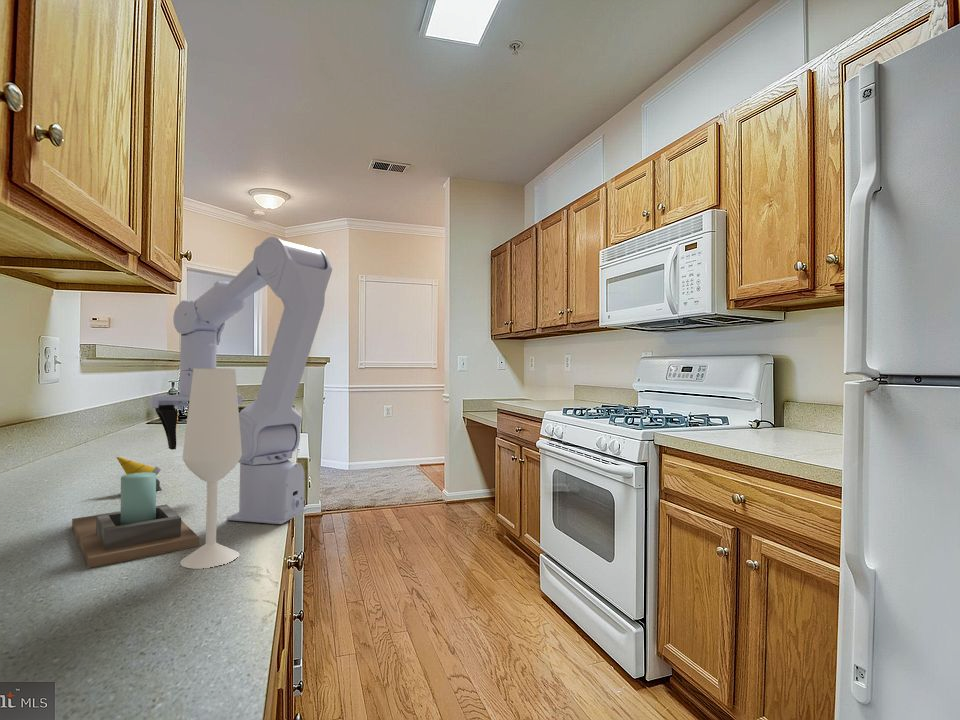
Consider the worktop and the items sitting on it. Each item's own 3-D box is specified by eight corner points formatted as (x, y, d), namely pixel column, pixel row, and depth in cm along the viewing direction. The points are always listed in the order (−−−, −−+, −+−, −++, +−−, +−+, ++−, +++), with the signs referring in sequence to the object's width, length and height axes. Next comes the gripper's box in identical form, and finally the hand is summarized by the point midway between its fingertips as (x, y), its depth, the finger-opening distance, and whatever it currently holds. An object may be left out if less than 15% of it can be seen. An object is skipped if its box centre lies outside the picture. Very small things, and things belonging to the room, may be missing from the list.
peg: (162, 530, 73) (163, 473, 73) (139, 540, 69) (139, 479, 69) (137, 528, 74) (138, 471, 74) (112, 538, 70) (113, 478, 70)
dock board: (199, 546, 71) (199, 518, 71) (88, 568, 63) (89, 537, 63) (164, 512, 86) (165, 489, 86) (72, 526, 78) (72, 501, 78)
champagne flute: (172, 570, 63) (176, 368, 63) (189, 550, 69) (193, 367, 69) (233, 566, 64) (237, 369, 64) (244, 547, 71) (248, 368, 71)
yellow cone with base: (157, 497, 96) (110, 463, 93) (146, 505, 99) (99, 471, 96) (177, 475, 101) (132, 441, 97) (166, 483, 104) (122, 450, 100)
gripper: (233, 370, 102) (232, 440, 102) (146, 369, 92) (144, 447, 92) (246, 371, 97) (244, 445, 97) (155, 370, 87) (153, 453, 87)
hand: (196, 446), depth 94 cm, fingers open, 7 cm apart
